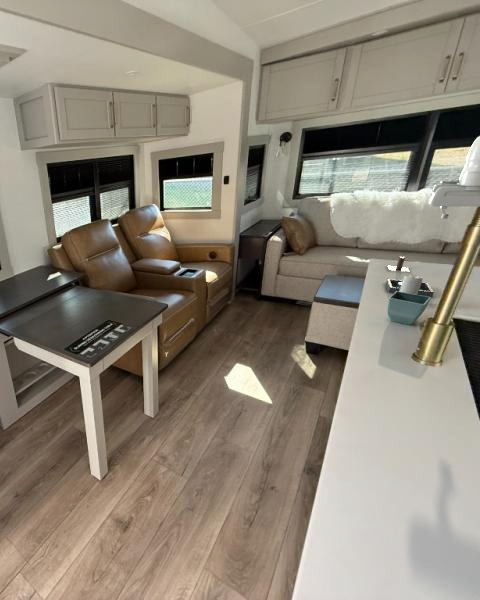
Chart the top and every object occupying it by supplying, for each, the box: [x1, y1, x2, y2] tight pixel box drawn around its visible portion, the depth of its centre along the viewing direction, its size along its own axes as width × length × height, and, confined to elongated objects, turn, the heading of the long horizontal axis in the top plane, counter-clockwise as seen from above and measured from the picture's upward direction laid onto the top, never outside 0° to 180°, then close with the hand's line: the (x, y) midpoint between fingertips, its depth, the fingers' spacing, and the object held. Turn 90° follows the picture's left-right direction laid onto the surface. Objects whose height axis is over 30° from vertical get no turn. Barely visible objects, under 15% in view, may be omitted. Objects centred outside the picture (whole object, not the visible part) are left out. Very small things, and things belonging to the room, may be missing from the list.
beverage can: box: [399, 274, 424, 295], centre depth 118 cm, size 5×5×12 cm
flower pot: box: [386, 291, 432, 326], centre depth 109 cm, size 9×9×9 cm
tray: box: [385, 278, 435, 299], centre depth 131 cm, size 13×12×3 cm
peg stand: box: [387, 256, 411, 273], centre depth 152 cm, size 7×7×6 cm
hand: (462, 218), depth 120 cm, fingers open, 8 cm apart
